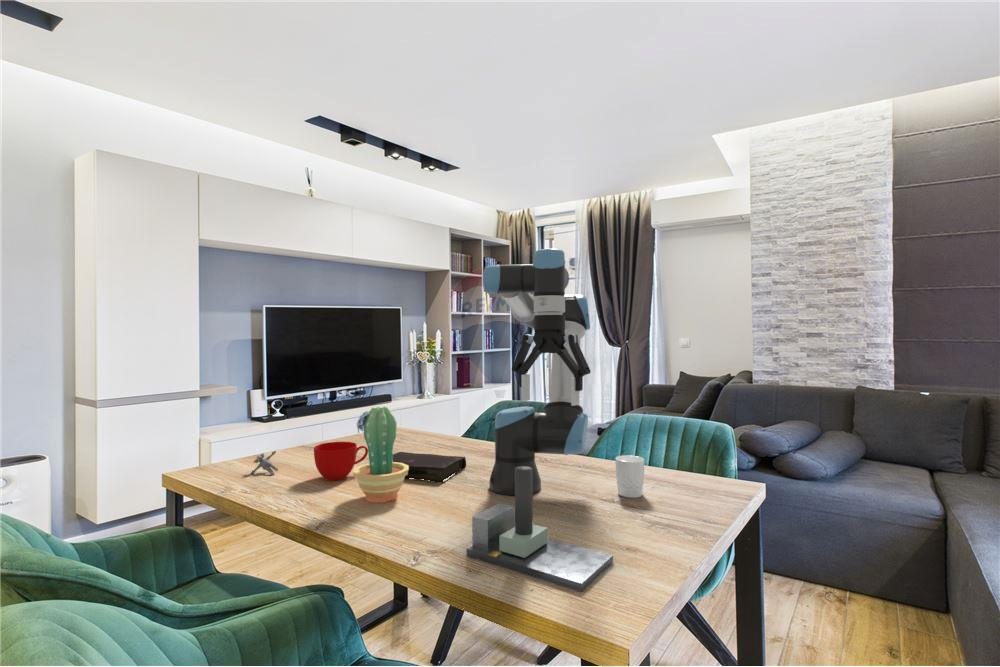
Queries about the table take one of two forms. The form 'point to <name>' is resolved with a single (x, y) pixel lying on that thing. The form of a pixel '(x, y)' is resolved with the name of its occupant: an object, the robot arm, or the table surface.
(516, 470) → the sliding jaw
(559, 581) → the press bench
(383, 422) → the potted cactus
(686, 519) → the table surface
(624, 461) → the white cup
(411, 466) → the diary
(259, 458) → the grey figurine
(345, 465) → the ceramic cup
